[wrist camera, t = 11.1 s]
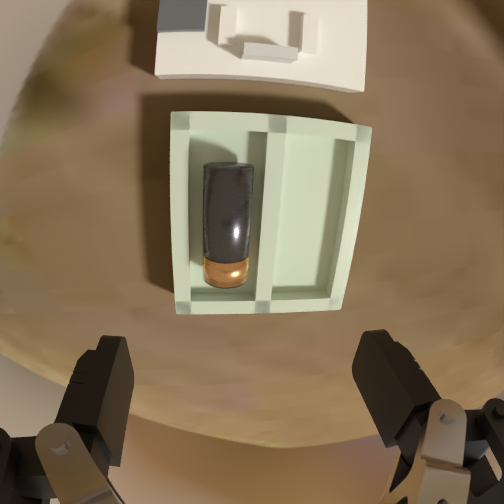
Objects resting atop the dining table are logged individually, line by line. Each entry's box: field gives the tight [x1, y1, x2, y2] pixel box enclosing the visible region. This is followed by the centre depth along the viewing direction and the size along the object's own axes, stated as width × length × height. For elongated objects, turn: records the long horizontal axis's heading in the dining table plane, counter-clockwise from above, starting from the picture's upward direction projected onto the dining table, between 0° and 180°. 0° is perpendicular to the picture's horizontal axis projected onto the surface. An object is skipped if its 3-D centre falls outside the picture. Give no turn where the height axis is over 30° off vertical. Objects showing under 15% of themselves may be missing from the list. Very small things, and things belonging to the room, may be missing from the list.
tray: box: [170, 111, 372, 314], centre depth 23 cm, size 14×15×3 cm
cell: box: [203, 162, 254, 289], centre depth 21 cm, size 3×9×3 cm, turn 177°
